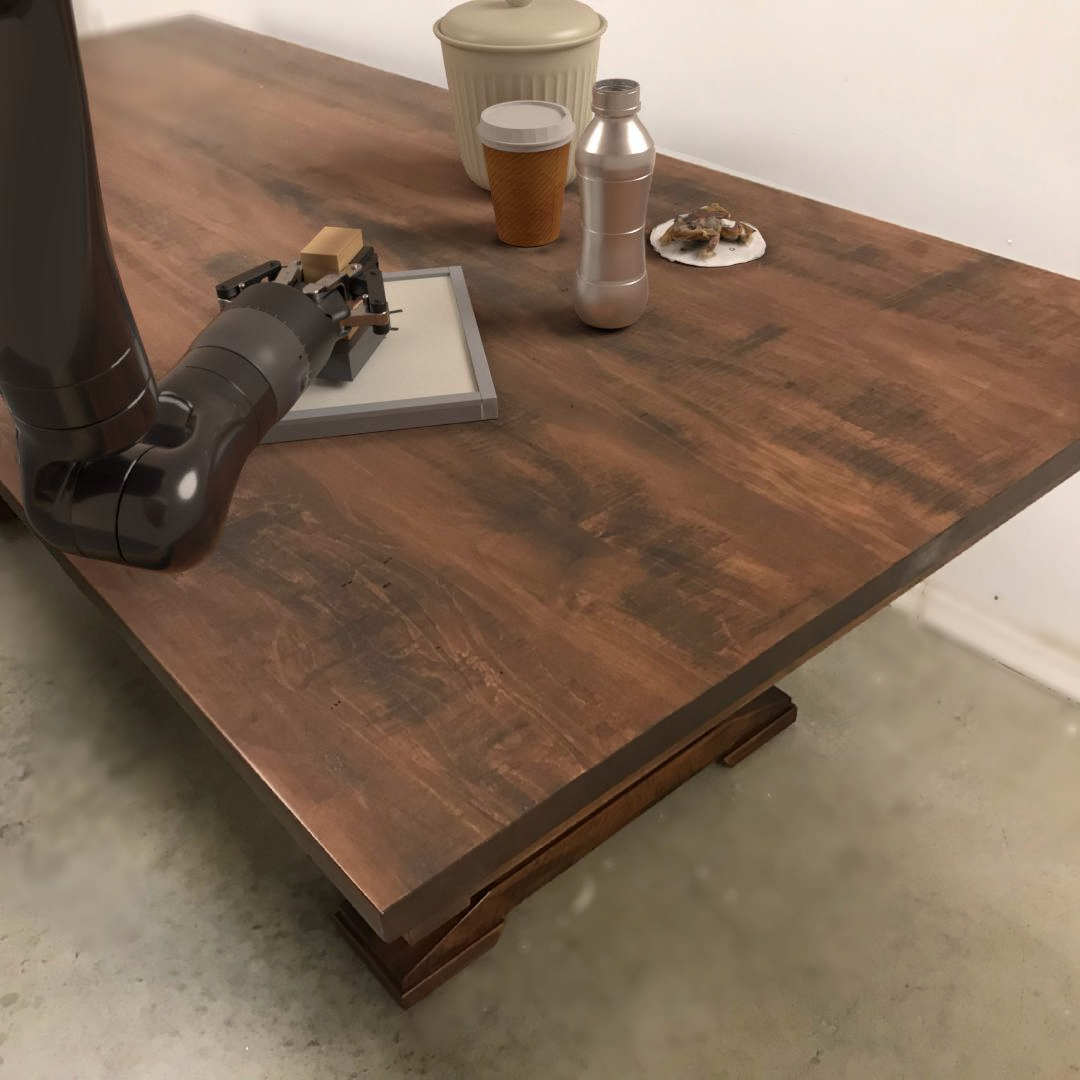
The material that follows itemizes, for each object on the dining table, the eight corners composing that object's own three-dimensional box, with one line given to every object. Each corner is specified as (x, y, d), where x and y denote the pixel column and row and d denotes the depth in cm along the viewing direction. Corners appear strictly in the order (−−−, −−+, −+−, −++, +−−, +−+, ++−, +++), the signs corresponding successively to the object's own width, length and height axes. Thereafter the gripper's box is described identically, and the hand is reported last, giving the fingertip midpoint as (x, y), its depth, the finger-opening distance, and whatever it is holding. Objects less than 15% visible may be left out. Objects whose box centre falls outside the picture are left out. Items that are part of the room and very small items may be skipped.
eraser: (299, 376, 86) (279, 262, 80) (342, 324, 93) (326, 215, 87) (352, 382, 85) (335, 267, 79) (391, 328, 92) (378, 219, 86)
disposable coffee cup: (558, 259, 107) (557, 134, 100) (468, 247, 110) (460, 125, 102) (587, 221, 114) (588, 103, 107) (501, 211, 117) (496, 95, 109)
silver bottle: (560, 312, 98) (558, 79, 86) (627, 298, 100) (635, 68, 88) (591, 344, 94) (594, 103, 81) (661, 328, 96) (674, 90, 83)
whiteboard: (234, 447, 82) (229, 425, 81) (246, 304, 101) (242, 285, 100) (498, 418, 85) (496, 397, 84) (462, 284, 103) (460, 265, 102)
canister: (427, 163, 129) (411, -36, 115) (573, 144, 133) (573, -51, 120) (468, 221, 115) (454, 2, 102) (629, 197, 119) (635, -16, 106)
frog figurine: (723, 279, 103) (726, 241, 101) (623, 245, 109) (624, 208, 107) (790, 241, 110) (794, 203, 107) (692, 211, 116) (694, 175, 114)
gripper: (346, 319, 70) (429, 215, 83) (147, 300, 73) (258, 203, 86) (360, 419, 75) (437, 306, 88) (173, 398, 78) (275, 291, 91)
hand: (348, 256), depth 87 cm, fingers closed on eraser, 3 cm apart
